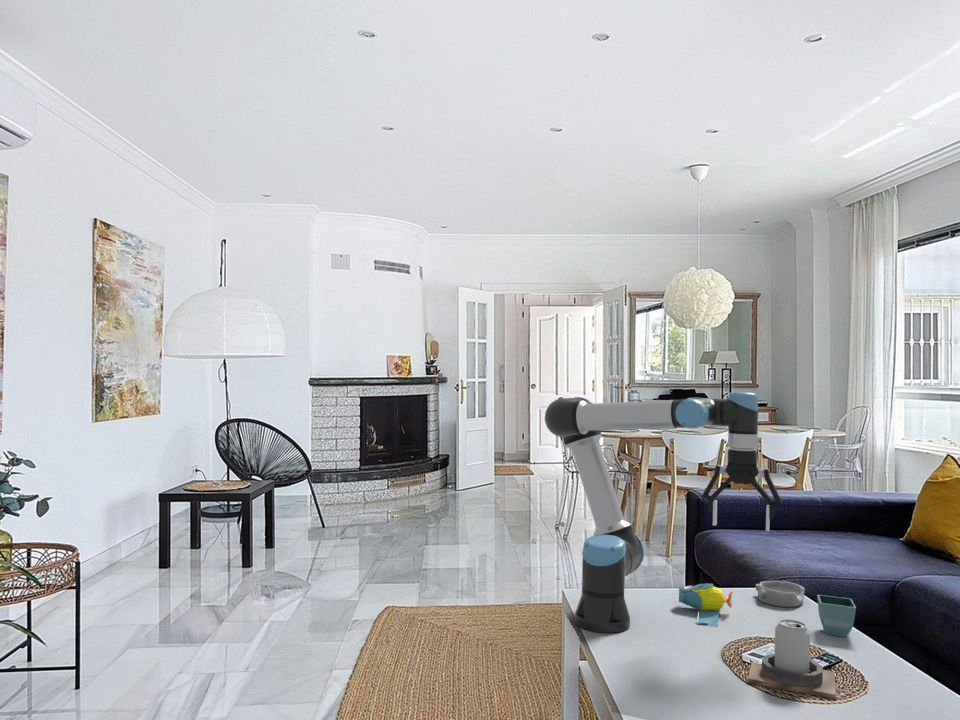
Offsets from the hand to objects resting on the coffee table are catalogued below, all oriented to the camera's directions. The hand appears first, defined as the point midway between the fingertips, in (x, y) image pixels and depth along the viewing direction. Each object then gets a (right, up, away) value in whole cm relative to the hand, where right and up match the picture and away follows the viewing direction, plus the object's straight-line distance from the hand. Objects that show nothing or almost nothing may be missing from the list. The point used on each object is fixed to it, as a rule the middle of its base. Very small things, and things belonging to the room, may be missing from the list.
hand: (740, 527), depth 201 cm
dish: (+23, -30, +31) cm, 49 cm away
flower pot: (+27, -30, +2) cm, 40 cm away
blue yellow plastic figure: (-4, -30, +19) cm, 36 cm away
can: (+1, -27, -30) cm, 41 cm away
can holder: (+1, -28, -30) cm, 41 cm away
